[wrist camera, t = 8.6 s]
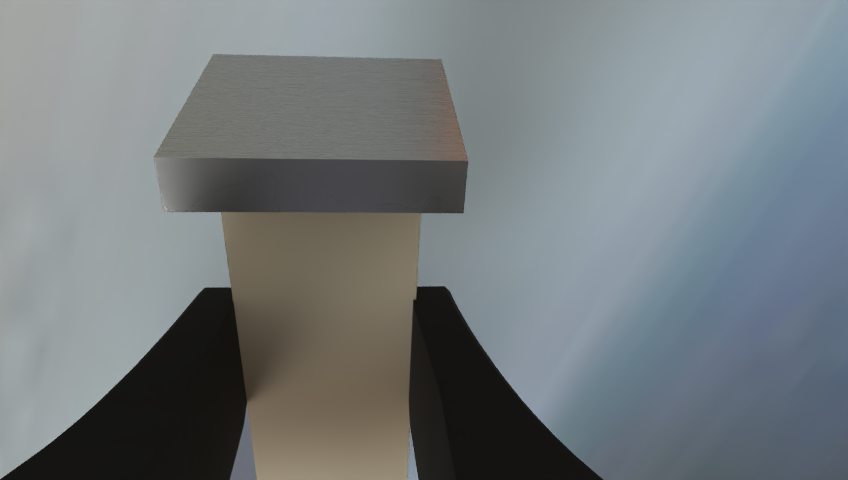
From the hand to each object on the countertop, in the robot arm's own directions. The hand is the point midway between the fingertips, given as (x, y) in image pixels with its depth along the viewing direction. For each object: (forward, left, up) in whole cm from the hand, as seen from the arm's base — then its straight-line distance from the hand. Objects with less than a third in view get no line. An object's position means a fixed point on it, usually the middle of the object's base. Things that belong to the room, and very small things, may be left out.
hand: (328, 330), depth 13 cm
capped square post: (-1, 0, -2) cm, 3 cm away
